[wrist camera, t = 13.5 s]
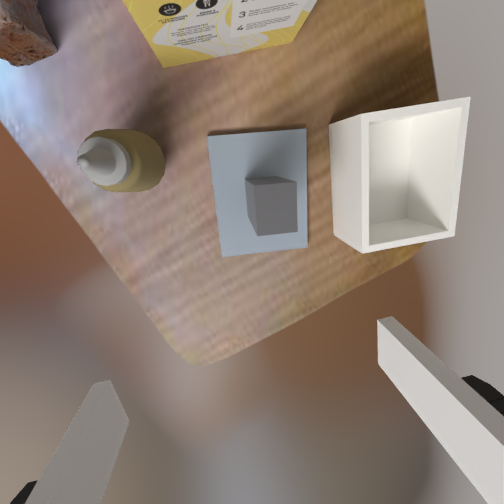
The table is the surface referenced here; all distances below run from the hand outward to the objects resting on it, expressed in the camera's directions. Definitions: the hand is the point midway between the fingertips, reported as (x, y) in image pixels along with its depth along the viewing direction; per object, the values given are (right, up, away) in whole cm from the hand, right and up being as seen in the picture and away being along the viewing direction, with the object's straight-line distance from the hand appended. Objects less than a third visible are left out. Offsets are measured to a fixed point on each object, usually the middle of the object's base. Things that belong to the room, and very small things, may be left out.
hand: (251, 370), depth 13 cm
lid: (+1, +15, +31) cm, 34 cm away
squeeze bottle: (-17, +19, +27) cm, 37 cm away
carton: (+20, +18, +31) cm, 42 cm away
